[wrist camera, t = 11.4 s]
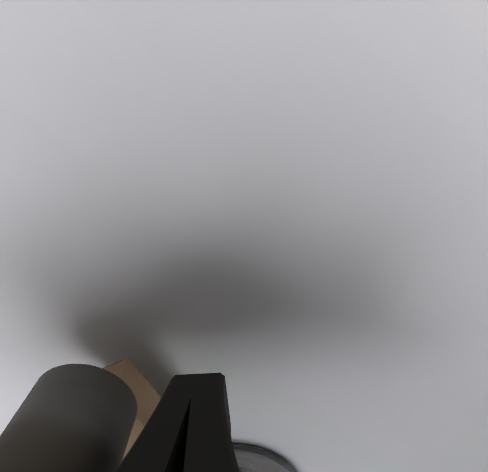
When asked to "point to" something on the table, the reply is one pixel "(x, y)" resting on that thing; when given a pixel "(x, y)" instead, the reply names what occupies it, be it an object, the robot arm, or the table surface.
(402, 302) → the table surface
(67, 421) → the crank
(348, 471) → the table surface
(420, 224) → the table surface
